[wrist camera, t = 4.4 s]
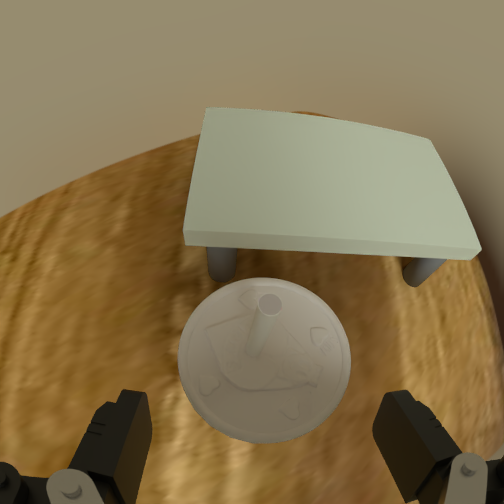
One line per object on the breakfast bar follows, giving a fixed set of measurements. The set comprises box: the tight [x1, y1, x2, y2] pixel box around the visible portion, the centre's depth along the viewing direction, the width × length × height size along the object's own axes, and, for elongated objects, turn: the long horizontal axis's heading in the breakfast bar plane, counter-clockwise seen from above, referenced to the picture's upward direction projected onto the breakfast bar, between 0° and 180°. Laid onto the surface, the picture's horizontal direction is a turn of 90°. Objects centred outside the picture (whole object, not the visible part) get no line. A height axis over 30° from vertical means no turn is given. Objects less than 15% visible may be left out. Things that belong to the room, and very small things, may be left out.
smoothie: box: [178, 278, 351, 443], centre depth 13 cm, size 6×6×14 cm
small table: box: [183, 107, 482, 287], centre depth 23 cm, size 20×12×7 cm, turn 90°
